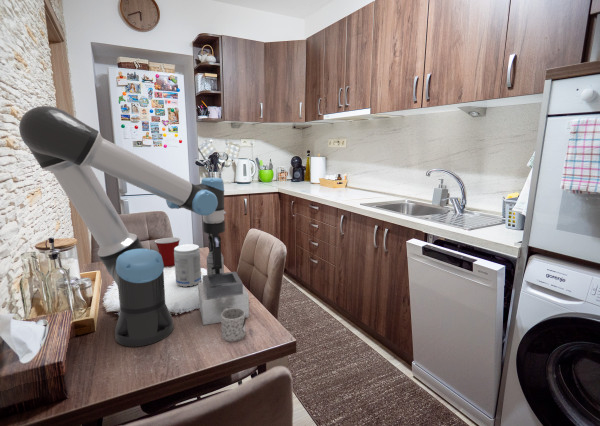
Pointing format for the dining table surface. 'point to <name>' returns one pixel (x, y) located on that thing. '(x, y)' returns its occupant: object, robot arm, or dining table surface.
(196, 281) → the supplement tub
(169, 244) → the plastic cup
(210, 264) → the energy drink can
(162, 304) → the robot arm
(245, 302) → the block
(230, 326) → the mug
